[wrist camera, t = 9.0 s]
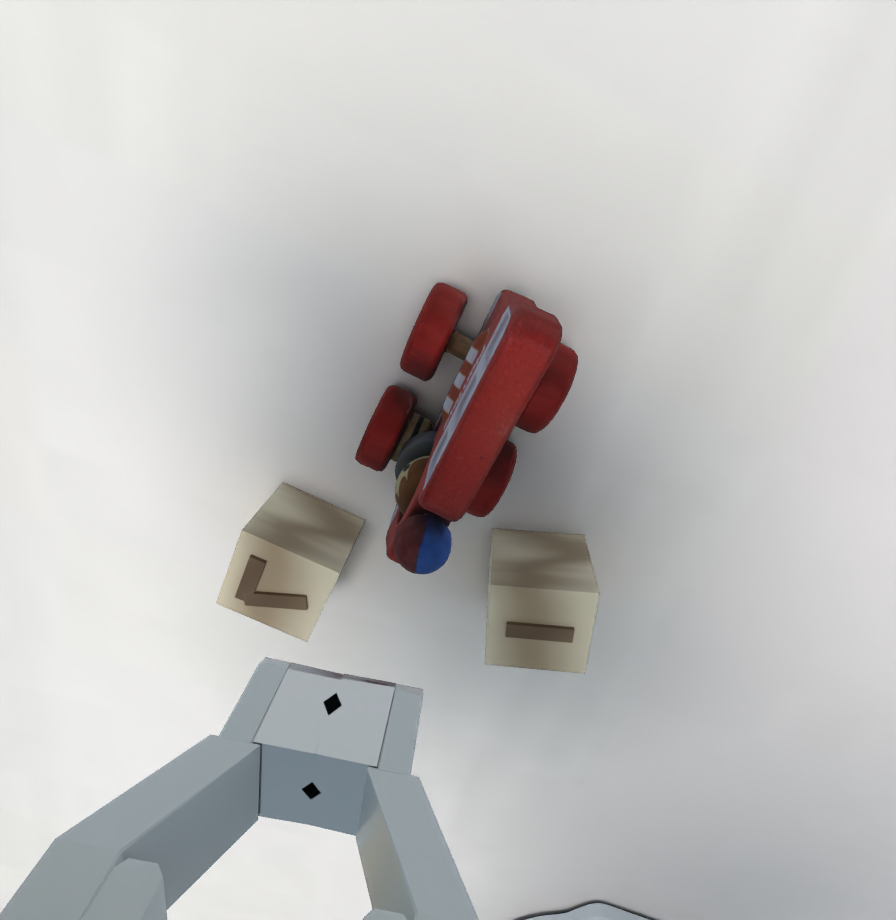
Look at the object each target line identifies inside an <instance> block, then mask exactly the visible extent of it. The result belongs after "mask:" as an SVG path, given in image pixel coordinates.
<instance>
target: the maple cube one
mask: <svg viewBox="0 0 896 920" xmlns="http://www.w3.org/2000/svg"><path fill="white" fill-rule="evenodd" d="M599 595H600V593H599V589H598V585H597V581H596V578H595V574H594V570H593V566H592V563H591V559H590V555H589V551H588V548H587V544H586V540H585V536H584V535H578V534H564V533H551V532H537V531H523V530H509V529H495V528H492V541H491V555H490V570H489V585H488V599H487V623H486V647H485V664H487V665H498V666H509V667H519V668H530V669H541V670H552V671H562V672H573V673H584V674H585V671H586V666H587V660H588V655H589V649H590V644H591V638H592V633H593V627H594V622H595V617H596V611H597V606H598V600H599Z"/></svg>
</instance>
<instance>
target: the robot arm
mask: <svg viewBox="0 0 896 920" xmlns="http://www.w3.org/2000/svg"><path fill="white" fill-rule="evenodd" d="M395 688H396V689H395ZM422 700H423V689H419V688H414V687H409V686H404V685H399V684H397V685H396V683H391V682H386V681H381V680H375V679H370V678H365V677H359V676H354V675H349V674H344V675H343V674H339V673H335V672H330V671H326V670H322V669H317V668H313V667H309V666H304V665H300V664H296V663H290V662H286V661H281V660H276V659H272V658H267V657H265V658H264V659H263V660H262V661H261V662H260V664H259V665H258V667H257V668H256V670H255V672H254V674H253V676H252V677H251V679H250V681H249V683H248V685H247V686H246V688H245V690H244V692H243V694H242V695H241V697H240V699H239V701H238V703H237V704H236V706H235V708H234V710H233V712H232V713H231V715H230V717H229V719H228V721H227V722H226V724H225V726H224V728H223V730H222V731H221V733H220V735H219V736H215V735H209V736H208V737H206V738H205V739H203V740H202V741H200V742H199V743H197V744H196V745H194V746H193V747H191V748H190V749H188V750H187V751H185V752H184V753H182V754H181V755H179V756H178V757H176V758H175V759H173V760H172V761H170V762H169V763H167V764H166V765H165V766H163V767H162V768H160V769H159V770H157V771H156V772H154V773H153V774H151V775H150V776H148V777H147V778H145V779H144V780H142V781H141V782H139V783H138V784H136V785H135V786H133V787H132V788H130V789H129V790H127V791H126V792H124V793H123V794H121V795H120V796H118V797H117V798H115V799H114V800H112V801H111V802H109V803H108V804H106V805H105V806H103V807H102V808H100V809H99V810H98V811H96V812H95V813H93V814H92V815H90V816H89V817H87V818H86V819H84V820H83V821H81V822H80V823H78V824H77V825H75V826H74V827H72V828H71V829H69V830H68V831H66V832H65V833H63V834H62V835H60V836H59V837H57V838H56V839H55V840H54V841H53V843H52V844H51V845H50V847H49V848H48V850H47V851H46V852H45V854H44V855H43V856H42V858H41V859H40V860H39V862H38V863H37V864H36V866H35V867H34V869H33V870H32V871H31V873H30V874H29V875H28V877H27V878H26V879H25V881H24V882H23V884H22V885H21V886H20V888H19V889H18V890H17V892H16V893H15V894H14V896H13V897H12V898H11V900H10V901H9V903H8V904H7V905H6V907H5V908H4V909H3V911H2V912H1V913H0V920H167V912H166V910H167V909H168V908H169V907H170V906H171V905H172V904H173V903H174V902H175V901H176V900H177V899H178V898H179V897H180V896H181V895H182V894H183V893H184V892H185V891H186V890H187V889H189V888H190V887H191V886H192V885H193V884H194V883H195V882H196V881H197V880H198V879H199V878H200V877H201V876H202V875H203V874H204V873H205V872H206V871H207V870H208V869H209V868H210V867H211V866H212V865H213V864H214V863H215V862H216V861H217V860H218V859H219V858H220V857H221V856H222V855H223V854H224V853H225V852H226V851H227V850H228V849H229V848H230V847H231V846H232V845H233V844H234V843H235V842H236V841H237V840H238V839H239V838H240V837H241V836H242V835H243V834H244V833H245V832H246V831H247V830H248V829H249V828H250V827H251V826H252V825H253V824H254V823H255V822H256V821H257V820H258V816H262V817H268V818H274V819H280V820H285V821H291V822H297V823H303V824H308V825H313V826H317V827H321V828H325V829H330V830H334V831H338V832H342V833H346V834H351V835H355V836H356V841H357V845H358V850H359V854H360V858H361V862H362V866H363V871H364V875H365V879H366V883H367V887H368V892H369V896H370V900H371V904H372V908H373V910H372V911H370V912H369V913H368V914H367V915H366V916H365V917H364V918H363V920H479V919H478V917H477V915H476V912H475V910H474V907H473V905H472V903H471V900H470V898H469V895H468V893H467V891H466V888H465V886H464V884H463V881H462V879H461V876H460V874H459V872H458V869H457V867H456V864H455V862H454V860H453V857H452V855H451V853H450V850H449V848H448V845H447V843H446V841H445V838H444V836H443V833H442V831H441V829H440V826H439V824H438V822H437V819H436V817H435V814H434V812H433V810H432V807H431V805H430V802H429V800H428V798H427V795H426V793H425V791H424V788H423V786H422V783H421V781H420V779H419V777H416V776H412V775H411V769H412V763H413V756H414V750H415V744H416V738H417V731H418V725H419V719H420V713H421V706H422ZM525 920H649V919H646V918H643V917H641V916H638V915H635V914H632V913H629V912H626V911H624V910H621V909H618V908H615V907H612V906H609V905H606V904H602V903H594V904H589V905H585V906H582V907H580V908H577V909H575V910H572V911H570V912H567V913H562V914H554V915H545V916H538V917H533V918H529V919H525Z"/></svg>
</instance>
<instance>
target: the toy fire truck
mask: <svg viewBox="0 0 896 920" xmlns="http://www.w3.org/2000/svg"><path fill="white" fill-rule="evenodd" d="M467 300H468V297H467V296H466V294H465V293H463V292H461V291H459V290H457V289H455V288H453V287H451V286H449V285H447V284H445V283H440V282H439V283H437V284H436V285H435V286H434V287H433V288H432V290H431V292H430V293H429V295H428V297H427V299H426V301H425V303H424V305H423V308H422V310H421V312H420V314H419V316H418V318H417V321H416V323H415V325H414V327H413V330H412V332H411V334H410V337H409V339H408V342H407V344H406V347H405V349H404V352H403V355H402V358H401V362H400V367H401V369H402V370H403V371H405V372H407V373H409V374H411V375H413V376H415V377H417V378H419V379H421V380H423V381H428V380H430V379H431V378H432V377H433V375H434V373H435V371H436V369H437V367H438V365H439V362H440V360H441V358H442V356H443V354H444V352H449V353H451V354H453V355H455V356H456V357H458V358H460V359H462V360H464V362H463V364H462V366H461V368H460V370H459V372H458V375H457V377H456V379H455V381H454V383H453V385H452V387H451V389H450V391H449V392H448V395H447V397H446V400H445V402H444V404H443V408H442V410H441V412H440V415H439V417H438V418H437V421H436V423H435V425H434V426H433V425H432V424H431V420H429V419H427V418H425V417H423V416H420V415H419V414H417V413H415V412H414V408H415V406H416V404H417V398H416V396H415V395H414V394H412V393H410V392H408V391H406V390H404V389H402V388H400V387H397V386H394V385H392V386H389V387H388V388H387V389H386V391H385V393H384V394H383V396H382V398H381V400H380V402H379V404H378V406H377V407H376V409H375V412H374V414H373V416H372V418H371V420H370V422H369V424H368V426H367V429H366V431H365V433H364V435H363V438H362V440H361V442H360V445H359V447H358V450H357V453H356V457H355V459H356V460H357V461H358V462H359V463H360V464H362V465H365V466H367V467H370V468H372V469H374V470H376V471H383V470H384V469H385V468H386V466H387V464H388V462H389V460H390V459H392V460H394V461H397V463H396V468H395V475H396V480H397V482H396V486H395V498H396V502H397V504H396V507H395V510H394V513H393V516H392V520H391V523H390V526H389V529H388V532H387V536H386V546H387V556H388V557H389V558H390V559H391V560H393V561H395V562H397V563H399V564H401V566H402V567H404V568H405V569H406V570H408V571H409V572H412V573H416V574H429V573H432V572H434V571H436V570H438V569H439V568H440V567H441V566H443V565H444V564H445V562H446V561H447V559H448V557H449V554H450V550H451V533H450V531H449V529H448V528H447V527H448V526H449V524H450V522H455V521H458V520H459V519H461V518H462V517H463V515H464V514H465V513H466V512H467V513H470V514H472V515H474V516H476V517H484V516H486V515H487V514H489V513H490V512H491V511H492V510H493V509H494V507H495V506H496V504H497V503H498V502H499V500H500V498H501V496H502V494H503V493H504V491H505V489H506V487H507V485H508V483H509V481H510V478H511V475H512V473H513V470H514V466H515V463H516V457H517V450H516V446H515V445H514V444H513V443H511V442H510V441H507V439H508V437H509V435H510V434H511V431H512V430H513V428H514V426H517V427H519V428H521V429H523V430H525V431H527V432H530V433H537V432H539V431H540V430H542V429H543V428H545V427H546V426H547V425H548V424H549V423H550V421H551V420H552V419H553V418H554V416H555V415H556V413H557V412H558V410H559V409H560V407H561V405H562V403H563V402H564V400H565V398H566V396H567V394H568V392H569V390H570V388H571V385H572V382H573V380H574V377H575V373H576V370H577V364H578V356H577V354H576V353H575V351H574V350H572V349H571V348H569V347H567V346H565V345H563V344H561V343H560V341H561V337H562V326H561V324H560V323H559V321H558V319H557V318H556V317H555V316H554V315H552V314H550V313H548V312H545V311H543V310H541V309H539V308H537V306H536V304H535V303H534V301H532V300H530V299H528V298H526V297H523V296H521V295H519V294H517V293H514V292H512V291H509V290H503V291H501V292H500V293H499V295H498V296H497V298H496V300H495V302H494V304H493V306H492V308H491V310H490V312H489V314H488V316H487V318H486V319H485V322H484V324H483V326H482V328H481V330H480V332H479V334H478V335H477V337H476V339H475V340H471V339H470V338H468V337H466V336H464V335H462V334H460V333H458V332H457V331H456V330H455V328H456V326H457V323H458V321H459V319H460V317H461V315H462V313H463V310H464V308H465V306H466V304H467Z"/></svg>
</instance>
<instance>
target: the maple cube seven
mask: <svg viewBox="0 0 896 920" xmlns="http://www.w3.org/2000/svg"><path fill="white" fill-rule="evenodd" d="M364 522H365V520H364V519H362V518H360V517H358V516H356V515H353V514H351V513H349V512H347V511H345V510H342V509H340V508H338V507H336V506H334V505H332V504H329V503H327V502H325V501H323V500H321V499H319V498H316V497H314V496H312V495H310V494H308V493H305V492H303V491H301V490H299V489H297V488H295V487H292V486H290V485H288V484H286V483H284V482H283V483H282V484H281V485H280V486H279V488H278V489H277V490H276V491H275V492H274V493H273V495H272V496H271V497H270V498H269V499H268V500H267V502H266V503H265V504H264V505H263V506H262V507H261V508H260V510H259V511H258V512H257V513H256V514H255V515H254V517H253V518H252V519H251V520H250V521H249V522H248V524H247V525H246V526H245V527H244V528H243V529H242V531H241V534H240V537H239V540H238V543H237V545H236V548H235V551H234V554H233V557H232V560H231V562H230V565H229V568H228V571H227V574H226V577H225V579H224V582H223V585H222V588H221V591H220V594H219V596H218V599H217V602H216V603H217V604H219V605H221V606H224V607H226V608H228V609H231V610H233V611H235V612H238V613H240V614H242V615H245V616H247V617H249V618H252V619H254V620H256V621H259V622H261V623H264V624H266V625H268V626H271V627H273V628H275V629H278V630H280V631H282V632H285V633H287V634H289V635H292V636H294V637H296V638H299V639H301V640H303V641H306V642H307V641H308V639H309V637H310V635H311V633H312V631H313V629H314V626H315V624H316V622H317V620H318V618H319V616H320V614H321V612H322V610H323V608H324V606H325V604H326V602H327V600H328V597H329V595H330V593H331V591H332V589H333V587H334V585H335V583H336V581H337V579H338V577H339V575H340V573H341V571H342V568H343V566H344V564H345V562H346V560H347V558H348V556H349V553H350V551H351V549H352V547H353V545H354V543H355V541H356V539H357V536H358V534H359V532H360V530H361V528H362V526H363V524H364Z"/></svg>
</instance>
